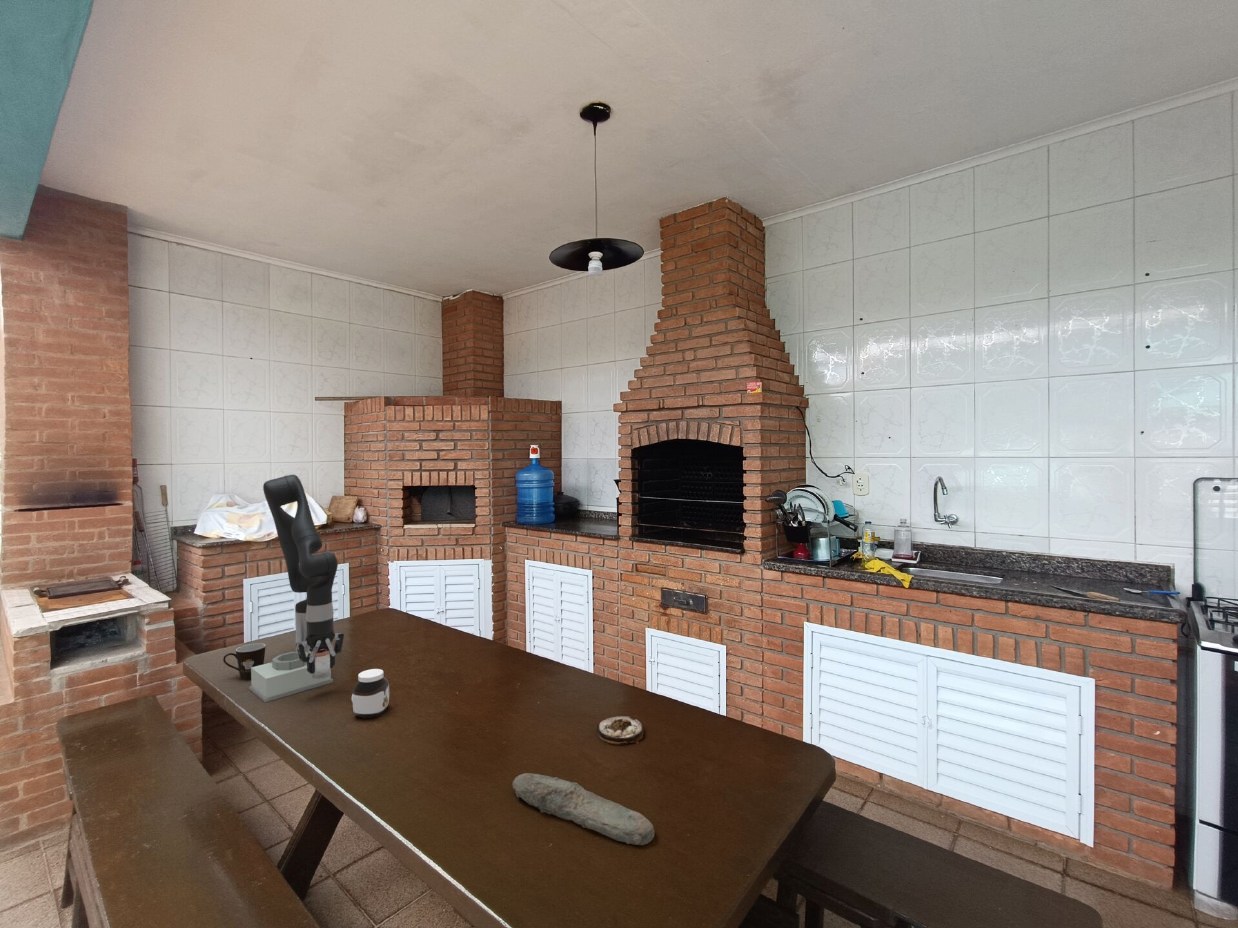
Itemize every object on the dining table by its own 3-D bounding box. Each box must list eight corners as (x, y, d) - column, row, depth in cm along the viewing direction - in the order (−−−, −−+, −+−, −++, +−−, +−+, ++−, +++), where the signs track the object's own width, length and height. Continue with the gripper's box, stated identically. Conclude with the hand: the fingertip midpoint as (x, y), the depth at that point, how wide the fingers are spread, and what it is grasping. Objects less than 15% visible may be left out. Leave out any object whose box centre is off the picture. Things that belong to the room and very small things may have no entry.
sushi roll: (596, 752, 145) (596, 735, 145) (590, 724, 160) (590, 709, 160) (653, 746, 147) (653, 730, 147) (641, 720, 162) (641, 705, 162)
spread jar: (372, 721, 161) (371, 680, 161) (337, 718, 163) (336, 677, 163) (397, 703, 173) (396, 665, 173) (364, 700, 175) (363, 662, 175)
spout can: (326, 670, 183) (325, 641, 183) (333, 674, 180) (333, 645, 179) (309, 675, 179) (308, 645, 179) (316, 680, 176) (315, 649, 175)
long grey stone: (638, 866, 107) (662, 838, 115) (640, 837, 107) (664, 812, 115) (499, 797, 125) (529, 777, 133) (501, 773, 125) (531, 755, 133)
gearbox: (319, 669, 200) (318, 642, 200) (337, 680, 190) (337, 652, 190) (249, 688, 184) (248, 659, 184) (265, 702, 174) (264, 671, 174)
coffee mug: (272, 672, 198) (271, 643, 198) (253, 682, 189) (253, 652, 189) (241, 670, 199) (240, 642, 199) (221, 680, 191) (220, 651, 190)
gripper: (338, 609, 186) (339, 660, 187) (290, 620, 176) (291, 674, 176) (348, 614, 182) (349, 666, 182) (300, 625, 171) (301, 680, 171)
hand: (321, 669), depth 179 cm, fingers closed on spout can, 5 cm apart
